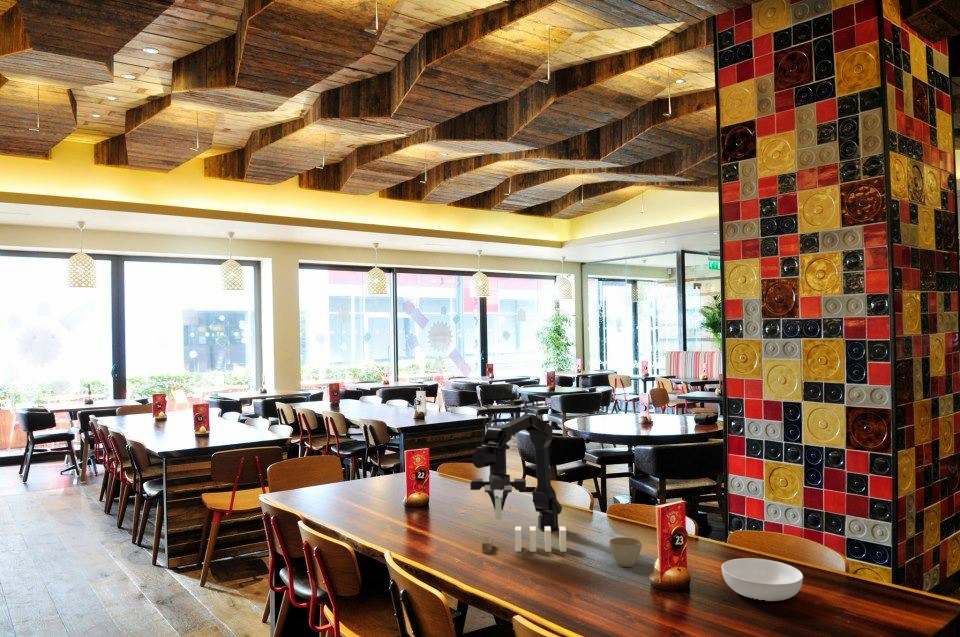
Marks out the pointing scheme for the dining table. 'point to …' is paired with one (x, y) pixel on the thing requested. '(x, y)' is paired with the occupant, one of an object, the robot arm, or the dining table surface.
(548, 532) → the domino
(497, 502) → the domino sage
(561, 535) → the domino
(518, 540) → the domino
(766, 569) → the serving bowl
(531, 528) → the domino
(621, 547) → the flower pot
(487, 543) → the end block
